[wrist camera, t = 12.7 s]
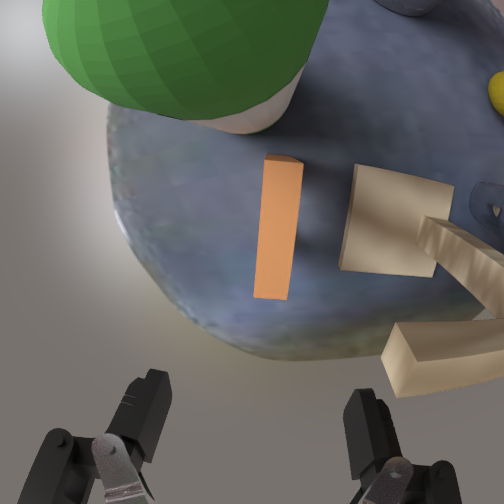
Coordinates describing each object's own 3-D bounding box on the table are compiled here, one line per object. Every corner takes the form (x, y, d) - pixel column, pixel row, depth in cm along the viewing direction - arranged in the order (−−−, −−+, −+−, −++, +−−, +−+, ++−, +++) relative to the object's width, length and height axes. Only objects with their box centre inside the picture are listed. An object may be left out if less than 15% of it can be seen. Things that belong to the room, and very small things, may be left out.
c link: (267, 153, 23) (264, 159, 14) (289, 155, 23) (303, 163, 14) (260, 239, 26) (253, 297, 17) (281, 241, 26) (286, 299, 17)
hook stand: (322, 158, 23) (471, 215, 5) (448, 184, 23) (604, 260, 4) (308, 262, 27) (353, 457, 8) (427, 272, 27) (532, 402, 8)
